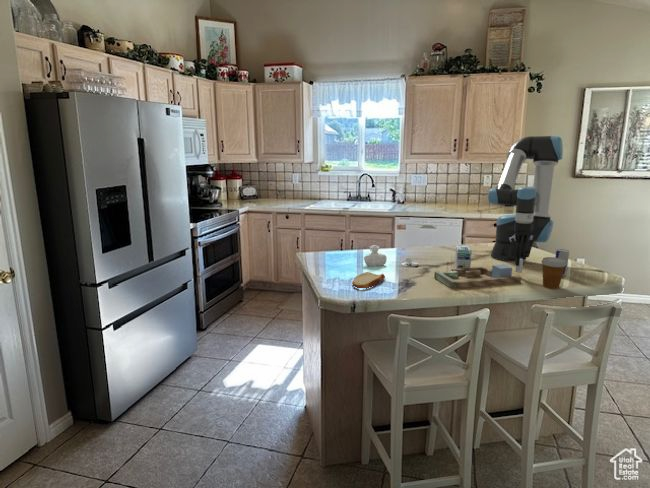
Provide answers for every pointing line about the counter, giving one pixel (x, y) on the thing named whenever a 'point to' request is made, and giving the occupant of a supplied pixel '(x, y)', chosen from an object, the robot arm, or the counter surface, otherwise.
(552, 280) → the disposable coffee cup
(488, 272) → the trap lane
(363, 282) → the bread slice
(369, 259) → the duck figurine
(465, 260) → the light bulb box
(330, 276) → the counter surface
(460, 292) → the counter surface
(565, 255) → the energy drink
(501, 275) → the cube
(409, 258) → the teacup and saucer
